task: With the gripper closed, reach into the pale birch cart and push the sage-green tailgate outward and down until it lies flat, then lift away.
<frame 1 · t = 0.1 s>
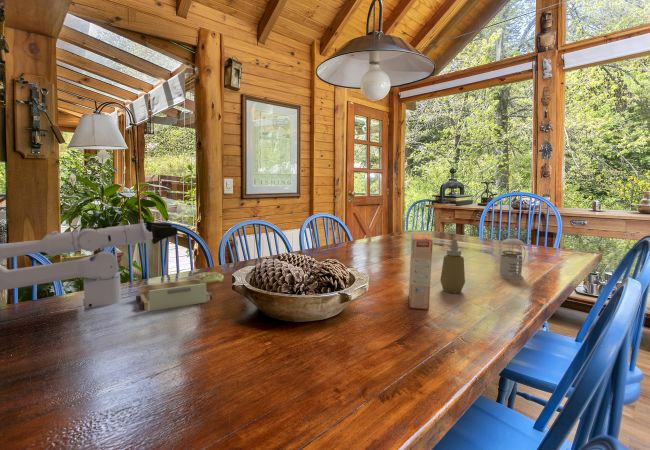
hand: (174, 229, 120), 22 cm above the table, tool horizontal, fingers open, 7 cm apart
french press: (511, 276, 154), on the table
cart: (174, 304, 115), on the table
squeeze bottle: (452, 291, 132), on the table
cracker box: (418, 303, 120), on the table
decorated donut: (208, 285, 138), on the table
tailgate: (179, 296, 108), point 4 cm above the table, hinge at 0.0°
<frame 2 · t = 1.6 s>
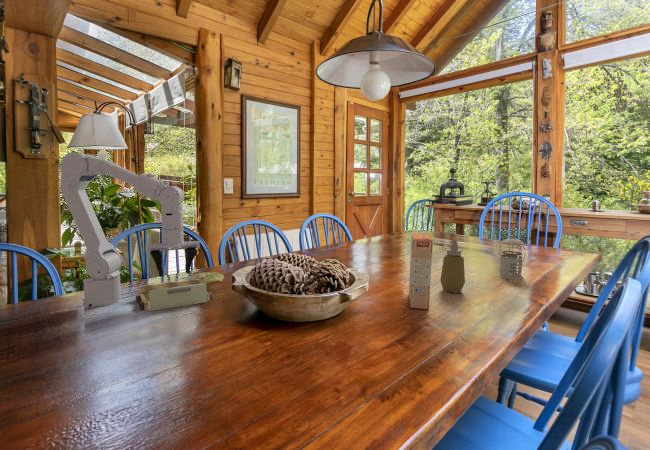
hand: (174, 274, 112), 9 cm above the table, tool pointing down, fingers open, 7 cm apart
nothing on the table moved.
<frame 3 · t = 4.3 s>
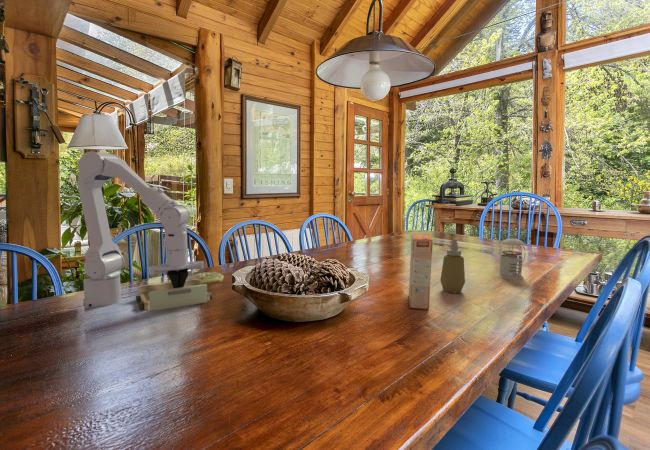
hand: (178, 296, 110), 4 cm above the table, tool pointing down, fingers closed, pressing on tailgate
tailgate: (179, 297, 108), point 4 cm above the table, hinge at 8.7°, touching gripper
everything else where it was.
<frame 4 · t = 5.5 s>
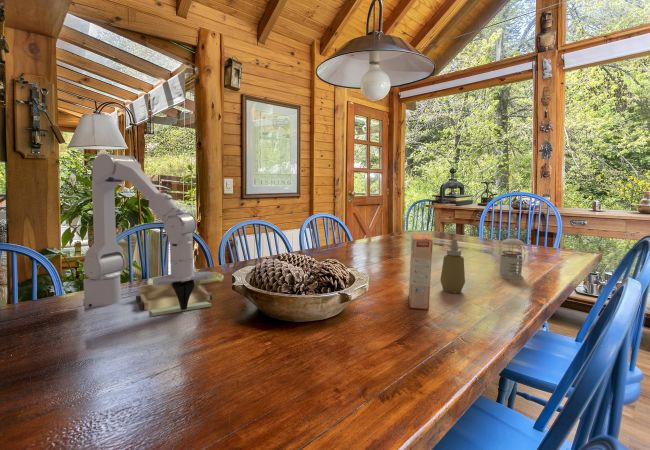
hand: (183, 308, 104), 2 cm above the table, tool pointing down, fingers closed, pressing on tailgate
tailgate: (181, 309, 107), point 1 cm above the table, hinge at 80.6°, touching gripper
everything else where it was.
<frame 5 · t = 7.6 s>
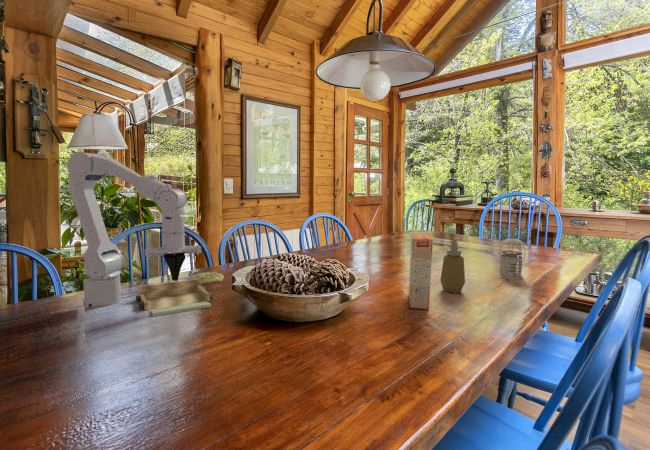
hand: (174, 279, 109), 9 cm above the table, tool pointing down, fingers closed
tailgate: (181, 309, 107), point 1 cm above the table, hinge at 82.0°
everything else where it was.
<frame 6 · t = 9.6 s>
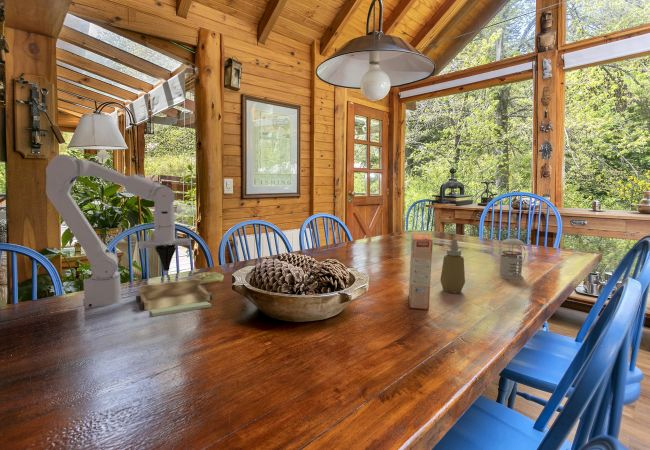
hand: (166, 270, 118), 9 cm above the table, tool pointing down, fingers closed
nothing on the table moved.
at the end: tailgate at +82° (first picture: +0°) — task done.
